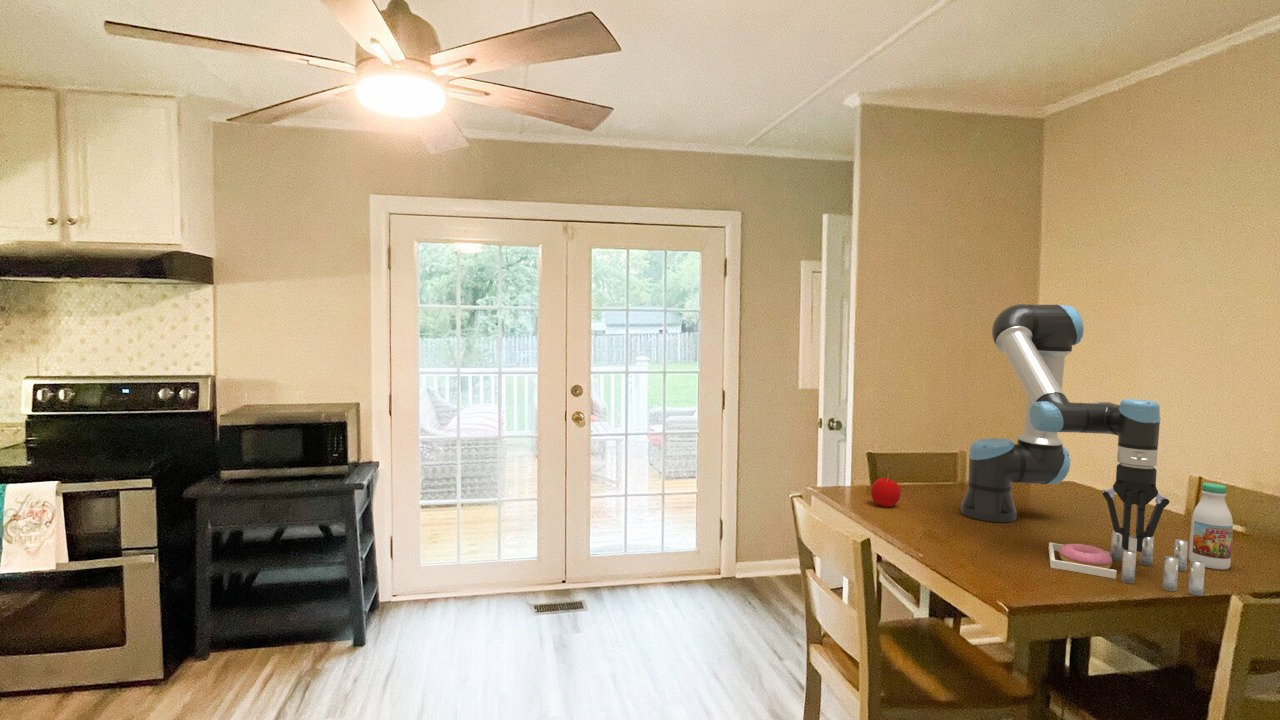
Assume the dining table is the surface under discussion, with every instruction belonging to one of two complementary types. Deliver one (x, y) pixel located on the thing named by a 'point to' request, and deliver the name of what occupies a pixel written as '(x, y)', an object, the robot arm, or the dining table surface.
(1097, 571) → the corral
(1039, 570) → the dining table surface
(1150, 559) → the spacers
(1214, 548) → the milk bottle
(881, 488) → the fruit
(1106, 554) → the doughnut
